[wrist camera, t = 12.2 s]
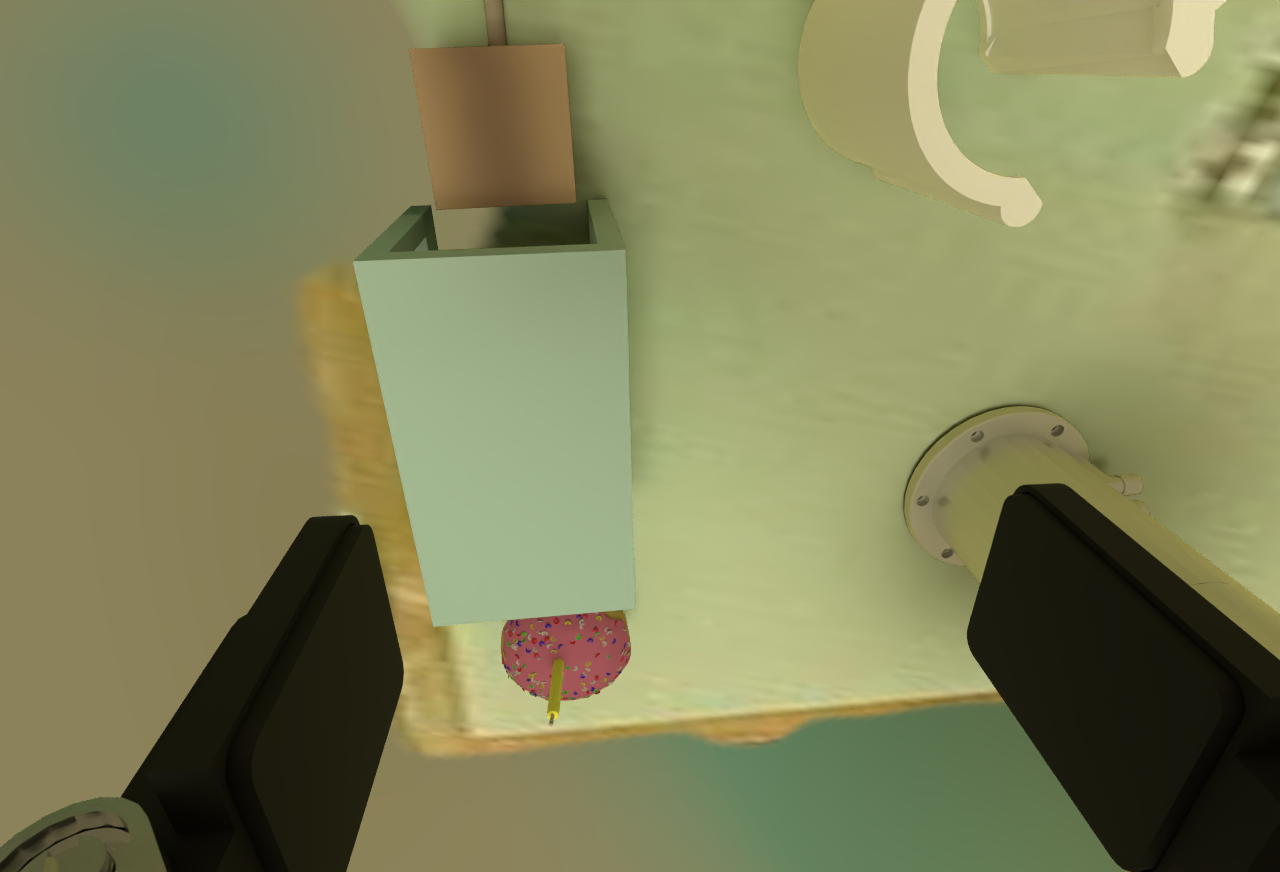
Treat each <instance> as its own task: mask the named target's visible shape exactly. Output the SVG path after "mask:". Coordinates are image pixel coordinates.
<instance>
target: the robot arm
mask: <svg viewBox="0 0 1280 872" xmlns="http://www.w3.org/2000/svg"><path fill="white" fill-rule="evenodd" d="M1142 489H1143V483H1142V480H1141V478H1140V477H1139V476H1138V475H1135V474H1128V475H1116V476H1113V477H1109V476H1107V475H1106V474H1105V473H1103V472H1102V471H1100V470H1099V469H1098V468H1096V467H1095V466H1094V465H1092V464H1091V463H1090V461H1089V452H1088V449H1087V445H1086V442H1085V441H1084V439H1083V437H1082V436H1081V434H1080V433H1079V431H1078V430H1077V429H1076V428H1074V427H1073V426H1072V425H1071V424H1070V423H1069V422H1067V421H1066V420H1064V419H1063V418H1061V417H1060V416H1058V415H1057V414H1055V413H1053V412H1050V411H1047V410H1044V409H1041V408H1036V407H1028V406H1017V407H1005V408H1001V409H997V410H993V411H988V412H986V413H983V414H981V415H978V416H976V417H974V418H971V419H969V420H968V421H966V422H964V423H962V424H961V425H959V426H957V427H955V428H954V429H952V430H951V431H950V432H949V433H947V434H946V435H945V436H944V437H942V438H941V439H940V440H939V441H938V442H937V443H936V444H935V445H934V446H933V447H932V448H931V449H930V450H929V451H928V452H927V453H926V454H925V456H924V457H923V459H922V460H921V461H920V463H919V464H918V466H917V467H916V469H915V471H914V473H913V475H912V477H911V479H910V481H909V484H908V488H907V491H906V495H905V505H904V513H905V518H906V523H907V526H908V528H909V530H910V532H911V534H912V536H913V537H914V539H915V540H916V541H917V542H918V544H919V545H920V547H921V548H922V549H923V550H925V551H926V552H927V553H928V554H929V555H930V556H932V557H934V558H936V559H937V560H939V561H942V562H945V563H949V564H952V565H956V566H966V567H967V568H968V570H969V571H970V572H971V573H972V575H973V576H974V577H975V578H976V579H977V581H978V582H979V583H980V587H979V590H978V594H977V597H976V601H975V604H974V608H973V611H972V615H971V618H970V622H969V625H968V629H967V640H968V645H969V648H970V651H971V653H972V654H973V656H974V658H975V659H976V660H977V662H978V663H979V665H980V666H981V668H982V669H983V671H984V672H985V674H986V675H987V677H988V678H989V679H990V681H991V682H992V684H993V685H994V687H995V688H996V690H997V691H998V693H999V694H1000V696H1001V697H1002V698H1003V700H1004V701H1005V703H1006V704H1007V706H1008V707H1009V709H1010V710H1011V712H1012V713H1013V714H1014V716H1015V717H1016V719H1017V720H1018V722H1019V723H1020V725H1021V726H1022V728H1023V729H1024V730H1025V732H1026V734H1027V735H1028V736H1029V738H1030V739H1031V741H1032V742H1033V744H1034V745H1035V746H1036V748H1037V750H1038V751H1039V752H1040V754H1041V755H1042V757H1043V758H1044V760H1045V761H1046V763H1047V764H1048V766H1049V767H1050V769H1051V770H1052V772H1053V773H1054V774H1055V776H1056V777H1057V779H1058V780H1059V782H1060V783H1061V785H1062V786H1063V788H1064V789H1065V791H1066V792H1067V793H1068V795H1069V796H1070V798H1071V799H1072V801H1073V802H1074V804H1075V805H1076V807H1077V808H1078V810H1079V811H1080V812H1081V814H1082V815H1083V817H1084V818H1085V820H1086V821H1087V823H1088V824H1089V826H1090V827H1091V829H1092V830H1093V831H1094V833H1095V834H1096V836H1097V837H1098V839H1099V840H1100V842H1101V843H1102V845H1103V846H1104V848H1105V849H1106V850H1107V852H1108V853H1109V855H1110V856H1111V858H1112V859H1113V860H1114V861H1115V862H1116V864H1117V865H1119V866H1120V867H1121V868H1122V869H1124V870H1127V871H1126V872H1280V614H1279V613H1278V612H1277V611H1275V610H1274V609H1273V608H1271V607H1270V606H1269V605H1267V604H1266V603H1265V602H1263V601H1262V600H1261V599H1259V598H1258V597H1257V596H1256V595H1254V594H1253V593H1251V592H1250V591H1249V590H1247V589H1246V588H1245V587H1243V586H1242V585H1241V584H1239V583H1238V582H1237V581H1236V580H1234V579H1233V578H1232V577H1230V576H1229V575H1228V574H1226V573H1225V572H1224V571H1222V570H1221V569H1220V568H1218V567H1217V566H1216V565H1214V564H1213V563H1212V562H1210V561H1209V560H1208V559H1206V558H1205V557H1204V556H1203V555H1201V554H1200V553H1199V552H1197V551H1196V550H1195V549H1193V548H1192V547H1191V546H1189V545H1188V544H1187V543H1185V542H1184V541H1183V540H1181V539H1180V538H1179V537H1177V536H1176V535H1175V534H1173V533H1172V532H1171V531H1170V530H1168V529H1167V528H1166V527H1164V526H1163V525H1162V524H1160V523H1159V522H1158V521H1156V520H1155V519H1154V518H1152V517H1151V516H1150V512H1149V509H1148V507H1147V506H1146V505H1145V504H1144V503H1143V502H1141V501H1139V500H1133V501H1130V500H1129V499H1127V498H1126V497H1125V496H1126V495H1136V494H1140V492H1141V491H1142ZM403 675H404V670H403V661H402V656H401V652H400V648H399V643H398V639H397V634H396V630H395V626H394V621H393V617H392V613H391V608H390V604H389V600H388V595H387V591H386V586H385V582H384V578H383V573H382V569H381V565H380V560H379V556H378V551H377V547H376V543H375V538H374V534H373V531H372V528H371V527H370V526H369V525H360V524H359V521H358V520H357V518H356V517H355V516H353V515H344V516H322V517H312V518H309V520H308V521H307V522H306V523H305V525H304V526H303V528H302V529H301V531H300V533H299V534H298V536H297V537H296V539H295V540H294V542H293V543H292V545H291V546H290V548H289V550H288V551H287V553H286V554H285V556H284V557H283V559H282V561H281V562H280V564H279V565H278V567H277V568H276V570H275V571H274V573H273V575H272V576H271V578H270V579H269V581H268V583H267V584H266V586H265V587H264V589H263V590H262V592H261V594H260V595H259V596H258V598H257V600H256V601H255V603H254V604H253V606H252V607H251V609H250V610H249V612H248V614H247V615H245V616H243V617H241V618H239V619H238V620H237V622H236V623H235V624H234V625H233V626H232V627H231V629H230V631H229V632H228V634H227V635H226V637H225V638H224V640H223V641H222V643H221V645H220V646H219V648H218V649H217V650H216V652H215V654H214V655H213V657H212V658H211V660H210V661H209V663H208V664H207V666H206V667H205V669H204V670H203V672H202V673H201V675H200V676H199V678H198V679H197V681H196V683H195V684H194V686H193V687H192V689H191V690H190V692H189V693H188V695H187V696H186V698H185V699H184V701H183V702H182V704H181V705H180V707H179V709H178V710H177V712H176V713H175V715H174V716H173V718H172V719H171V721H170V722H169V724H168V725H167V727H166V728H165V730H164V731H163V733H162V735H161V736H160V738H159V739H158V741H157V742H156V744H155V745H154V747H153V748H152V750H151V751H150V753H149V754H148V756H147V758H146V759H145V761H144V762H143V764H142V765H141V767H140V768H139V770H138V771H137V773H136V774H135V776H134V777H133V779H132V780H131V782H130V783H129V785H128V787H127V788H126V790H125V791H124V793H123V794H122V796H121V797H98V798H94V799H90V800H86V801H82V802H78V803H74V804H71V805H69V806H67V807H64V808H62V809H60V810H58V811H55V812H53V813H51V814H49V815H46V816H44V817H42V818H41V819H39V820H38V821H36V822H35V823H33V824H31V825H30V826H28V827H27V828H25V829H23V830H22V831H20V832H19V833H17V834H15V835H14V836H13V837H12V838H11V839H10V840H8V841H7V842H6V843H5V844H4V845H2V846H1V847H0V872H346V870H347V867H348V864H349V861H350V857H351V854H352V850H353V847H354V844H355V841H356V837H357V834H358V831H359V828H360V824H361V821H362V818H363V814H364V811H365V808H366V805H367V801H368V798H369V795H370V792H371V788H372V785H373V782H374V778H375V775H376V772H377V769H378V765H379V762H380V758H381V755H382V752H383V749H384V745H385V742H386V739H387V736H388V732H389V729H390V726H391V722H392V719H393V716H394V713H395V709H396V706H397V703H398V699H399V696H400V693H401V689H402V685H403Z"/></svg>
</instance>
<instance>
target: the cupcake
mask: <svg viewBox="0 0 1280 872" xmlns="http://www.w3.org/2000/svg"><path fill="white" fill-rule="evenodd" d="M501 653H502V664H504V667H505V669H506V672H507V674H508V678H509V676H510V677H511V679H512V680H514V681H515V682H516V683H517V685H519V686H520V687H522V689H523V691H525V690H527V691H529V692H530V694H531V693H532V694H531V695H532V696H534V695H535V697H537V696H539V697H541V698H544V699H545V700H548V701H549V703H548V711H547V717H548V718H549V719H550V722H549V726H552V725H553V720H555V719H557V718H558V716H559V708H560V700H563V701H565V700H576V699H580V698H587V697H590V696H591V695H593V694H594V693H595V694H599V693H600V690H601V689H603V688H604V687H607V686H608V685H609V684H612V683H613V682H614V681H615V679H616V678H617V677H618V676H619V674H620V673H621V672H622V670H623V669H624V668H625V666H626V665H627V663H628V661H629V659H630V656H631V643H630V637H629V631H628V626H627V622H626V618H625V615H624V613H623V612H622V610H616V611H605V612H594V613H582V614H571V615H560V616H548V617H537V618H526V619H514V620H508V621H507V623H506V624H505V626H504V628H503V631H502V637H501ZM524 689H525V690H524ZM596 692H597V693H596Z"/></svg>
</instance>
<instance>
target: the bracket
mask: <svg viewBox="0 0 1280 872" xmlns="http://www.w3.org/2000/svg"><path fill="white" fill-rule="evenodd" d="M956 1H957V0H814V2H813V5H812V7H811V9H810V11H809V14H808V17H807V19H806V22H805V25H804V29H803V33H802V37H801V42H800V47H799V56H798V81H799V88H800V94H801V98H802V102H803V105H804V108H805V111H806V114H807V116H808V118H809V120H810V122H811V124H812V126H813V127H814V129H815V130H816V132H817V133H818V135H819V136H820V137H821V138H822V139H823V140H824V142H825V143H826V144H827V145H828V146H830V147H831V148H832V149H833V150H834V151H836V152H837V153H839V154H840V155H842V156H844V157H846V158H848V159H850V160H853V161H856V162H858V163H862V164H865V165H868V166H871V167H872V171H873V174H874V176H875V177H876V178H877V179H879V180H882V181H885V182H887V183H890V184H893V185H896V186H898V187H901V188H904V189H907V190H910V191H912V192H915V193H918V194H921V195H924V196H926V197H929V198H932V199H935V200H938V201H940V202H943V203H946V204H949V205H952V206H954V207H957V208H960V209H963V210H966V211H968V212H971V213H974V214H977V215H979V216H982V217H985V218H988V219H991V220H993V221H996V222H999V223H1002V224H1005V225H1007V226H1010V227H1021V226H1024V225H1026V224H1028V223H1029V222H1031V221H1032V220H1033V219H1034V218H1035V217H1036V216H1037V214H1038V213H1039V211H1040V209H1041V207H1042V201H1041V200H1040V198H1039V197H1038V195H1037V194H1036V192H1035V191H1034V190H1033V188H1032V187H1031V185H1030V184H1029V182H1028V181H1027V179H1026V178H1024V177H1019V176H1004V175H995V174H992V173H990V172H987V171H985V170H983V169H981V168H979V167H978V166H976V165H975V164H973V163H972V162H971V161H969V160H968V159H967V158H966V157H965V156H964V155H963V154H962V153H961V152H960V150H959V149H958V148H957V147H956V145H955V144H954V142H953V141H952V139H951V137H950V135H949V133H948V131H947V129H946V127H945V124H944V121H943V118H942V115H941V111H940V107H939V100H938V90H937V71H938V61H939V53H940V49H941V44H942V39H943V36H944V32H945V29H946V26H947V23H948V20H949V17H950V15H951V12H952V10H953V8H954V6H955V3H956ZM1225 1H1226V0H976V4H977V7H978V12H979V18H980V47H979V52H978V53H979V55H980V56H981V58H982V59H983V61H984V62H985V64H986V65H987V67H988V68H989V70H990V71H991V73H1007V74H1051V75H1095V76H1139V77H1187V76H1190V75H1192V74H1194V73H1195V72H1197V71H1198V70H1199V69H1200V68H1201V67H1202V66H1203V65H1204V64H1205V63H1206V61H1207V60H1208V58H1209V56H1210V54H1211V52H1212V49H1213V44H1214V36H1213V33H1214V18H1215V11H1216V10H1217V9H1218V8H1219V7H1220V6H1221V5H1222V4H1223V3H1224V2H1225Z"/></svg>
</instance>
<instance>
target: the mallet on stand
mask: <svg viewBox="0 0 1280 872" xmlns="http://www.w3.org/2000/svg"><path fill="white" fill-rule="evenodd" d="M484 7H485V15H486V24H487V32H488V40H489V46H484V47H454V48H424V49H409V52H410V58H411V63H412V70H413V75H414V81H415V87H416V93H417V99H418V104H419V110H420V116H421V122H422V128H423V134H424V140H425V146H426V151H427V157H428V163H429V169H430V175H431V180H432V186H433V192H434V198H435V204H436V210H443V209H464V208H483V207H503V206H522V205H541V204H561V203H576V191H575V178H574V164H573V151H572V137H571V124H570V110H569V96H568V83H567V69H566V56H565V44H544V45H514V46H507V43H506V34H505V25H504V16H503V7H502V0H484Z"/></svg>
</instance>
